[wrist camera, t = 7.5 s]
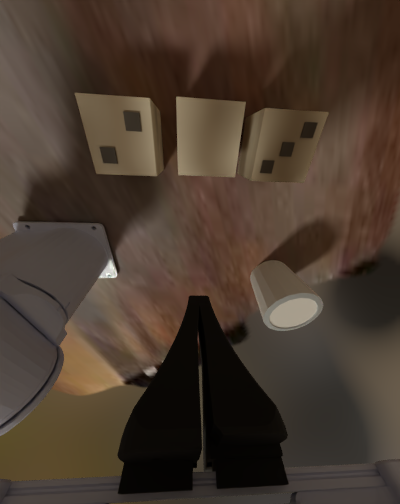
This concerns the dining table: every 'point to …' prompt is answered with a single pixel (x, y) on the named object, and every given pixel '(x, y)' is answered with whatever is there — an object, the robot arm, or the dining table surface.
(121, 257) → the dining table surface
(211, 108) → the plain block
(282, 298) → the cream short cylinder
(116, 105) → the dotted block two
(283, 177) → the dotted block three
